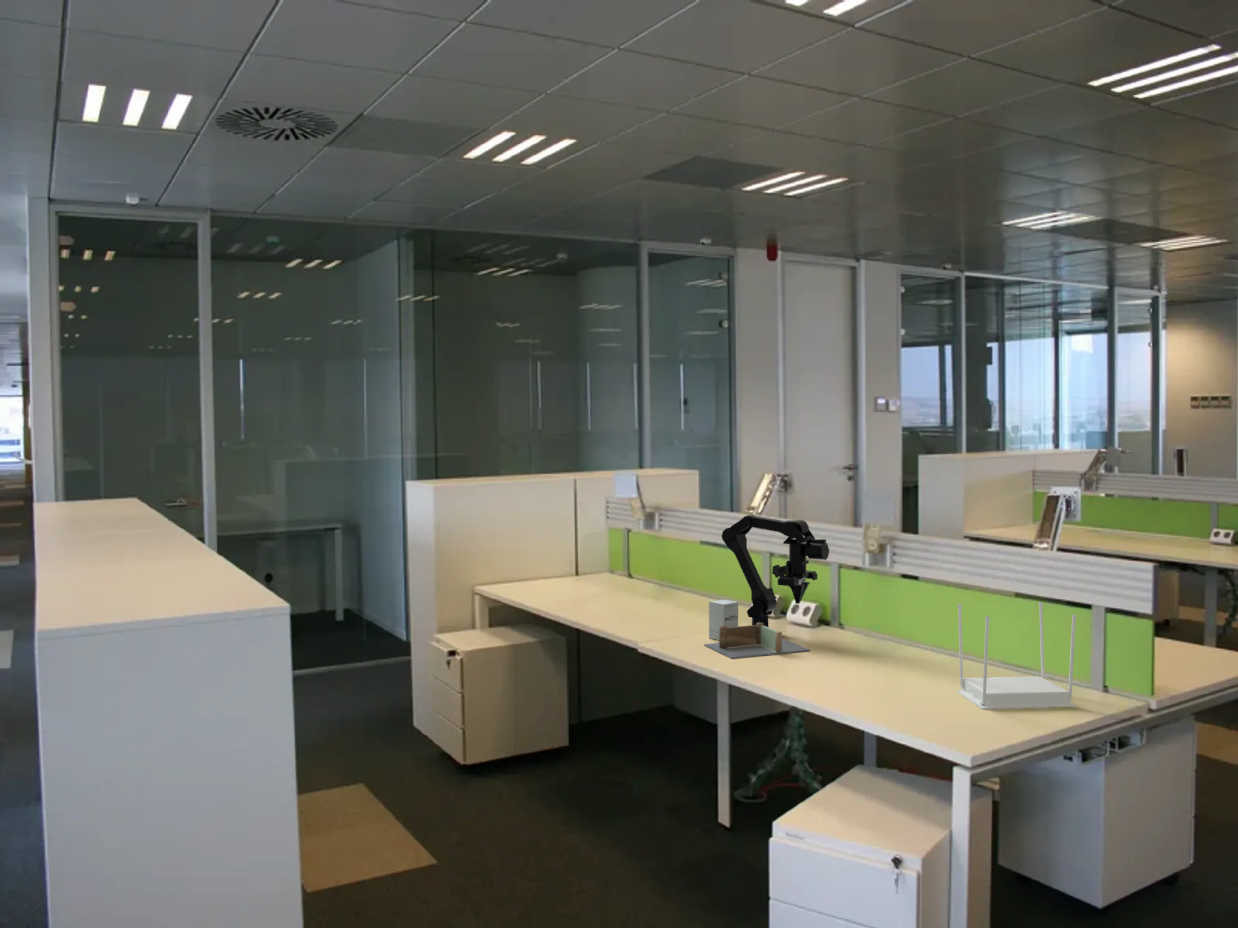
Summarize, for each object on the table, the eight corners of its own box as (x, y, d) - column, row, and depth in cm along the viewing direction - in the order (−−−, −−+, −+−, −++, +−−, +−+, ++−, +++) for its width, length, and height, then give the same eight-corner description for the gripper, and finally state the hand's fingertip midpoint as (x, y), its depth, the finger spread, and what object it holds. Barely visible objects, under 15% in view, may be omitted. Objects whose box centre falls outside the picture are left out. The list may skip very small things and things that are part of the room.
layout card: (704, 645, 339) (704, 643, 339) (779, 638, 349) (779, 636, 349) (731, 658, 320) (731, 656, 320) (809, 651, 330) (809, 649, 330)
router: (1077, 708, 264) (1078, 615, 263) (982, 710, 262) (983, 617, 261) (1042, 688, 283) (1043, 601, 282) (953, 690, 282) (954, 603, 280)
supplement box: (723, 641, 345) (723, 604, 345) (708, 638, 351) (708, 601, 350) (739, 638, 350) (738, 601, 349) (723, 634, 356) (723, 598, 355)
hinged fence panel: (765, 643, 337) (765, 625, 337) (783, 651, 326) (782, 632, 326) (759, 644, 337) (759, 625, 336) (777, 651, 325) (777, 633, 325)
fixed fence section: (718, 647, 334) (718, 625, 334) (761, 643, 340) (761, 622, 340) (721, 648, 332) (721, 627, 332) (765, 644, 338) (765, 623, 337)
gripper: (788, 552, 360) (788, 597, 361) (763, 559, 345) (763, 605, 346) (818, 555, 353) (818, 600, 354) (793, 561, 338) (793, 608, 339)
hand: (797, 603), depth 348 cm, fingers closed
